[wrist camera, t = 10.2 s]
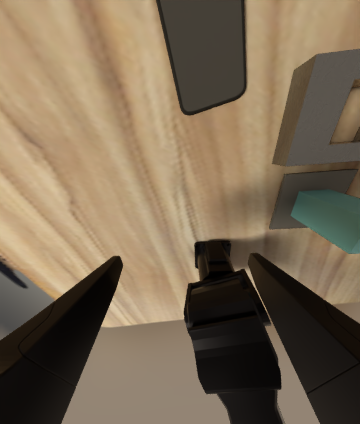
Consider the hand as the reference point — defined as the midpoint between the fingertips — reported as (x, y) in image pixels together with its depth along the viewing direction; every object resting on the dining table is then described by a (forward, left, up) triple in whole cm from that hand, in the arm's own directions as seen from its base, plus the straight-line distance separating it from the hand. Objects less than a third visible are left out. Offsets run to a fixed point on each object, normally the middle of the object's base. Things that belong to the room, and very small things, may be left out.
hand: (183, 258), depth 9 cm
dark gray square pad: (-2, -19, -12) cm, 22 cm away
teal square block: (-2, -19, -12) cm, 22 cm away
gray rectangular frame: (+8, -19, -12) cm, 24 cm away
